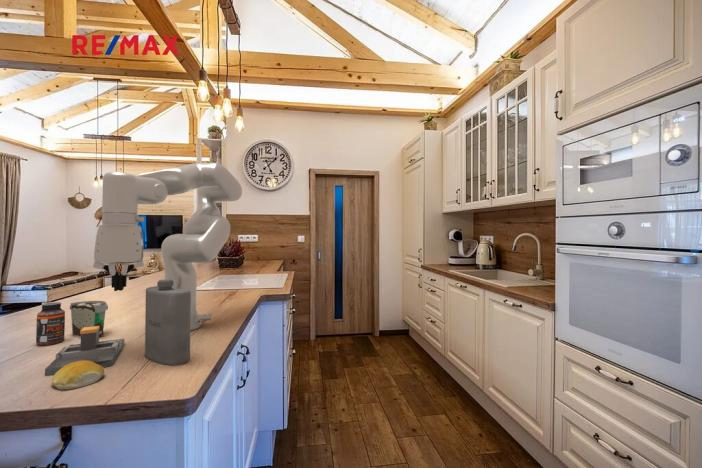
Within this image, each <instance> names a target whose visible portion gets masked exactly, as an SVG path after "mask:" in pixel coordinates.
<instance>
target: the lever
mask: <svg viewBox="0 0 702 468" xmlns="http://www.w3.org/2000/svg"><path fill="white" fill-rule="evenodd" d="M99 329H100V326H93V327H84V328H83V329H82V330H81V331H80V334H81V337H80V344H81V350H88V349H96V348H99V342H100V337H99Z"/></svg>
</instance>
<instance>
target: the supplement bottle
mask: <svg viewBox="0 0 702 468" xmlns="http://www.w3.org/2000/svg"><path fill="white" fill-rule="evenodd" d="M61 307H62V303H61V302H60V301H59V302H57V301H54V302H53V301H52V302H46V303H43V304H42V305H41V311H39V312H38V313H37V314H36V330H35V331H36V332H35V333H36V334H35V339H36V340H35V342H36V345H37V346H52V345H54V344H55V345H56V344H59V343H61V342H64V340H65V329H66V328H65V327H66V322H65V321H66V311H65V310H64V309H62V308H61Z"/></svg>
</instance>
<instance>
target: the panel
mask: <svg viewBox="0 0 702 468" xmlns="http://www.w3.org/2000/svg"><path fill="white" fill-rule="evenodd" d="M124 345H125V338H119V339H111V340H110V339H109V340H101V341H100V340H99V348H96V349H88V350H81V343H77V344H70V345H68V346H63V348H62V349H61V350H60V351H58V352H57V353H56V354H55V359H54V360H53V361H52V362H51V363H50V364H49V365H48V366H47V367H45V368H44V376H46V377H47V376H51V375H53V376H54V375H55V373H56V372H57V371H59V370H60V369H61V368H62V367H64V366H66V365H68V364H70V363H73V362H76V361H83V360H89V361H92V362H94V363H96V364H98V365H100V366H102V367H103V368H107V367H112V366H113V365H114V363H115V361H116V360H117V358H118V356H119V354H120V353H121V351H122V349H123V347H124Z"/></svg>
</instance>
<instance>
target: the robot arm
mask: <svg viewBox="0 0 702 468" xmlns="http://www.w3.org/2000/svg"><path fill="white" fill-rule="evenodd" d="M196 189H197V196H198V197H197V198H198V208H197V209H196V211H195V212H194V213H193V214H192V215H191V216H190V218H188V219H187V221H186V222H185V223H184V225H183V228H182V233H175V234H171V235H168V236H167V237H166V238H165V239H164V240H162V243H161V247H160V248H161V249H160V250H161V256H162V260H163V266H164V267H163V268H164V279H172V280H173V286H172V288H175V289H185V290H190V291H191V309H190V332H191V331H194V330H197V329H199V328H200V327H201V326H202V321H211V319H212V314H207V313H203V314H201V313H198V310H197V298H198V297H197V289H198V288H197V285H198V284H197V283H198V282H197V281H198V280H197V279H198V277H197V271H196V269H195V267H194V265H193V264H197V263H198V264H200V263H201V264H202V263H203V264H204V263H205V264H206V263H210V262H212V261H214V259H215V258H216V257H217V256H218V254H219V253H220V251H221V250H222V248H223V247H224V245H225V244H226V242H227V241H228V239H229V238H230V235H231V223H230V221H229V219H228V218H226V217H225V216H222V215H221V211H220V208H219V207H218V206H217V203H216V202H236V201H238V200H240V199H241V198H242V194H243V188H242V185H241V184H240V182H239V180H238V179H237V178H236V177H235V175H233V174H232V172H231V171H229V170H228V169H227V168H226V167H225V166H224V165H222V164H220V163H219V162H194V163H189V164H185V165H181V166H177V167H172V168H166V169H162V170H156V171H151V172H145V173H140V174H131V173H127V172H126V173H125V172H119V171H118V172H117V171H112V172H111V171H110V172H106V173H104V174H103V177H102V194H101V195H102V200H101V201H102V202H101V203H102V204H101V205H102V208H101V210H102V211H101V212H102V214H101V224H100V225H98V227H97V230H96V235H95V242H94V249H93V250H94V251H93V252H94V253H93V259H94V263H93V265H92V266H93V268H94V269H99V270H104V271H106V272H107V273H108V274H109V275H110V276H111V289H112V288H113V291H114V292H118V291H119V292H121V291H123V290H124V288H126V287H127V283H128V282H127V279H128V278H127V277H128V274H129V273H130V272H131V271H132V270H134V269H136V268H142V267H144V265H145V264H144V260H143V259H144V238H143V230H142V227H141V226H140V225H138V223H141V222H144V221H145V218H144V216H140V215H139V214H138V210H139V209H138V208H139V207H138V205H157V204H160V203H163V202H164V201H165V200H166V199H167V197H168V196H175V195H182V194H185V193H188V192H190V191H193V190H196ZM117 264H122V267H121V271H120V272H118V267H117Z"/></svg>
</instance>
